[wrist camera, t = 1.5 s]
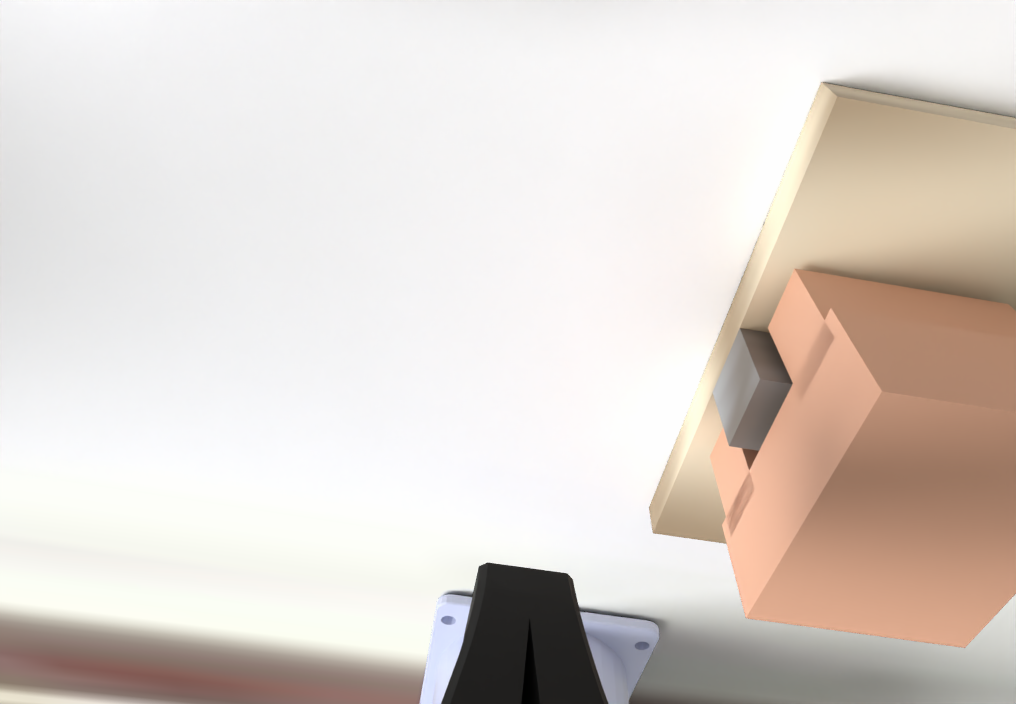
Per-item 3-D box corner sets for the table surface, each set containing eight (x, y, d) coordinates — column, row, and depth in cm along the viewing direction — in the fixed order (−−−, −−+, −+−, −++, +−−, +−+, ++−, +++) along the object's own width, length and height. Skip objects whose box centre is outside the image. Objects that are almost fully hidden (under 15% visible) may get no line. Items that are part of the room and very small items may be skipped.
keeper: (882, 490, 20) (964, 647, 16) (706, 464, 19) (746, 618, 16) (1016, 292, 16) (1164, 435, 12) (799, 256, 16) (881, 391, 12)
